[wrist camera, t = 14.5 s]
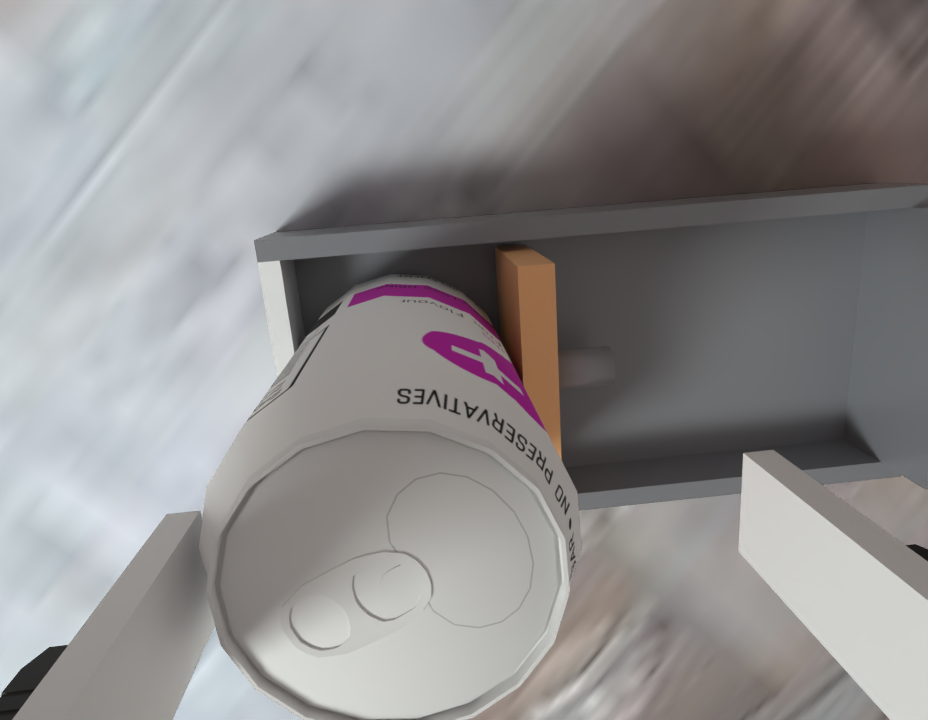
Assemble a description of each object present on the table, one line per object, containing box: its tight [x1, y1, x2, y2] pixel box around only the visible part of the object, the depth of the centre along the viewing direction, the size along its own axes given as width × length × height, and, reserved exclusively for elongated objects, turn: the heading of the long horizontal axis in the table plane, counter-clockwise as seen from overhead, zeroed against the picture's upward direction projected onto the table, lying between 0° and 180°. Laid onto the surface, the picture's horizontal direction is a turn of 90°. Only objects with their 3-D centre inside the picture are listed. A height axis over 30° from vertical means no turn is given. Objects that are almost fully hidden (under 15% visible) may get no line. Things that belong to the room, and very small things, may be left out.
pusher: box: [495, 244, 615, 461], centre depth 24 cm, size 10×4×6 cm, turn 4°
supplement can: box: [199, 274, 582, 720], centre depth 19 cm, size 8×8×15 cm
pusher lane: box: [254, 183, 928, 510], centre depth 26 cm, size 12×26×6 cm, turn 94°
